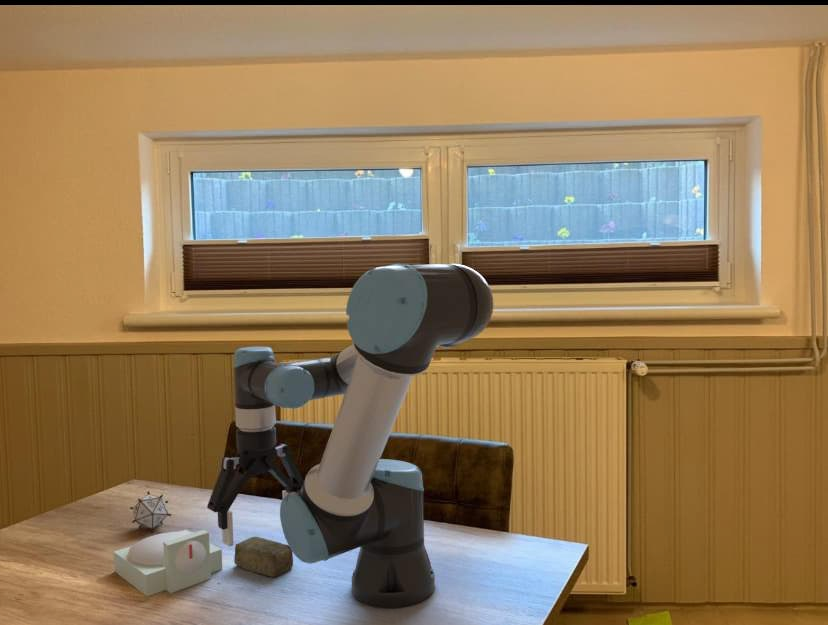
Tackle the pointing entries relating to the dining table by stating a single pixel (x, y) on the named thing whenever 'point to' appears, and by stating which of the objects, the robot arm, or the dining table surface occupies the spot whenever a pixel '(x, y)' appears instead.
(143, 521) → the game die
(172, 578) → the scale
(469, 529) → the dining table surface
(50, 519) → the dining table surface
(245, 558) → the stone block
